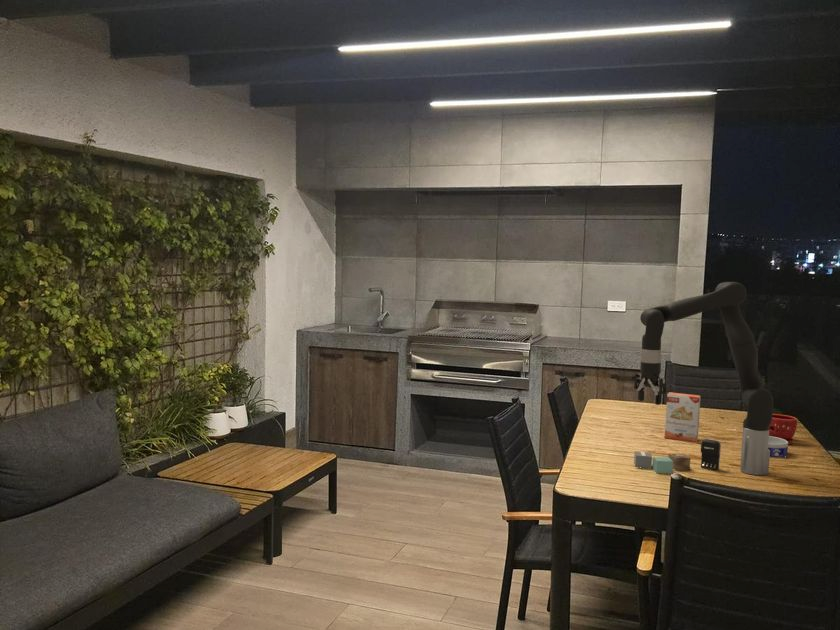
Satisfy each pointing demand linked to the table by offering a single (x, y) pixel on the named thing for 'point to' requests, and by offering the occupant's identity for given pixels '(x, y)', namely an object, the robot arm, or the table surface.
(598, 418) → the table surface
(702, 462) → the battery
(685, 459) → the dot block
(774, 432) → the plant pot
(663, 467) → the plain block
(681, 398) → the cracker box
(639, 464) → the stripe block
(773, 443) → the dog bowl
